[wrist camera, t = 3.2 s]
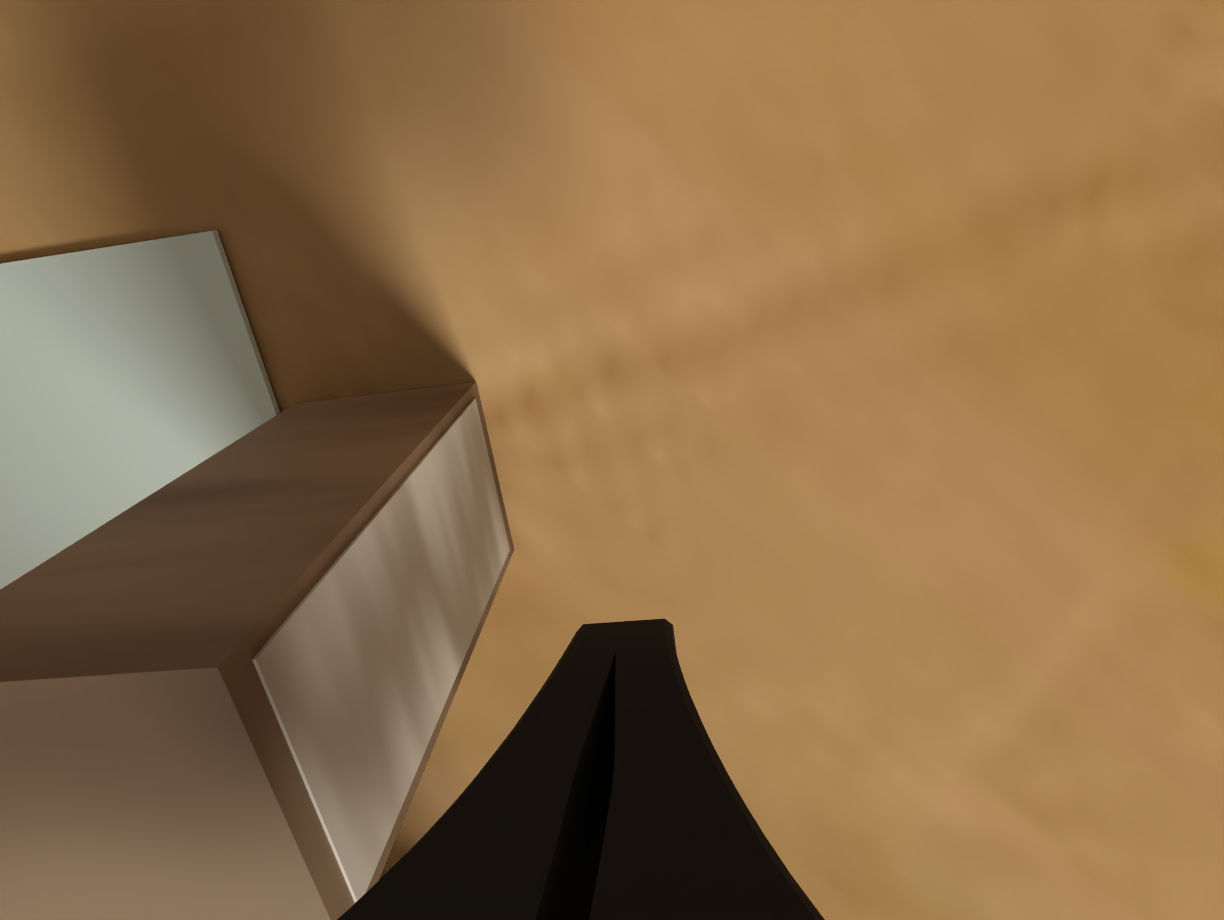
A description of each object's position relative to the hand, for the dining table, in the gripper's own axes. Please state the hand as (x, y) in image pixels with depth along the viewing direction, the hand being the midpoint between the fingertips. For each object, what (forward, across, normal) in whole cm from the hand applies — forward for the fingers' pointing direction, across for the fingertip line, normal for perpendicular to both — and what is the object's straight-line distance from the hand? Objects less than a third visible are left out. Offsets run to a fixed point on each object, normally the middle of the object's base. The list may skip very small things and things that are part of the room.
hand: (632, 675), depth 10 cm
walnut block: (+8, +7, 0) cm, 11 cm away
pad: (+8, +15, 0) cm, 17 cm away
